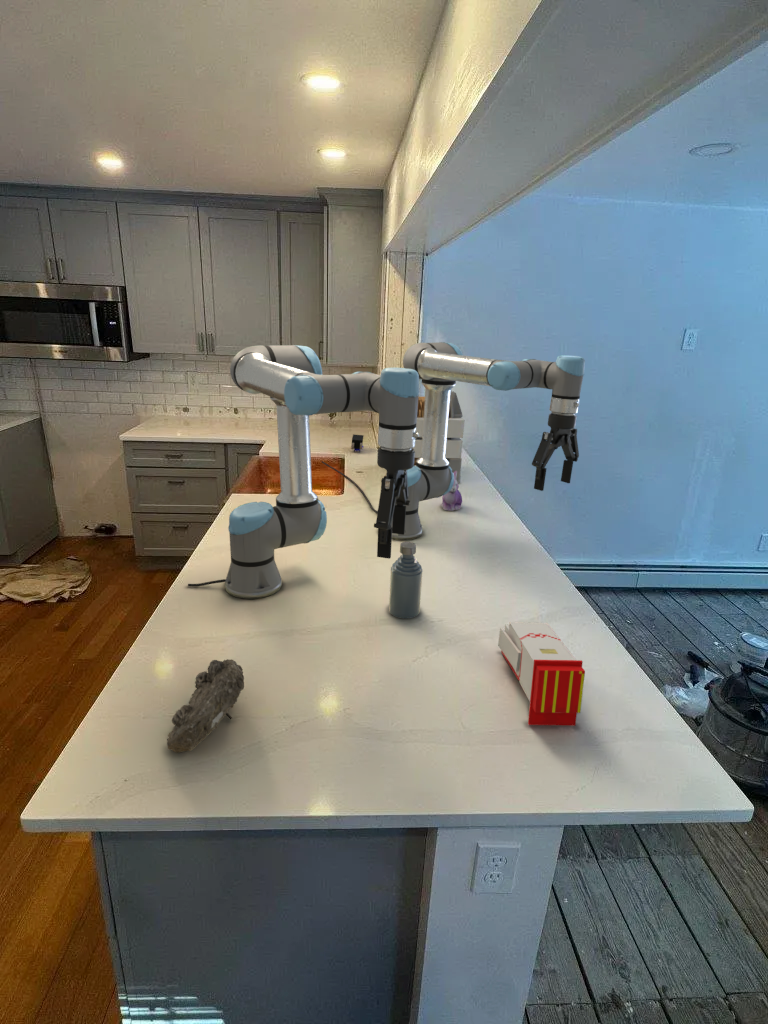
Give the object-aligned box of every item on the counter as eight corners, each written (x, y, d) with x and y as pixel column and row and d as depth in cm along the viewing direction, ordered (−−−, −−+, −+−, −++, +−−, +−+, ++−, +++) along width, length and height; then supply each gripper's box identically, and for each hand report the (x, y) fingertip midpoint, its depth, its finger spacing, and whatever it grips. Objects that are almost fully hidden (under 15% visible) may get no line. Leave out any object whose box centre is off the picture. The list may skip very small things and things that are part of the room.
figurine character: (363, 455, 307) (363, 446, 321) (363, 442, 304) (364, 433, 317) (350, 455, 307) (351, 446, 320) (351, 442, 304) (352, 433, 317)
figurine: (448, 512, 222) (451, 476, 217) (434, 504, 231) (437, 469, 226) (468, 509, 227) (471, 473, 222) (453, 502, 235) (457, 467, 230)
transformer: (382, 463, 289) (386, 382, 275) (445, 464, 293) (451, 384, 279) (390, 482, 257) (394, 392, 243) (460, 483, 261) (468, 394, 247)
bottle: (389, 602, 153) (392, 538, 147) (419, 603, 153) (424, 540, 147) (388, 617, 146) (391, 551, 139) (419, 619, 145) (424, 553, 139)
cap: (400, 548, 146) (400, 540, 145) (415, 549, 145) (416, 541, 145) (399, 554, 142) (400, 547, 141) (415, 555, 142) (416, 548, 141)
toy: (544, 607, 134) (594, 667, 105) (539, 659, 137) (586, 732, 108) (493, 606, 134) (529, 666, 105) (489, 658, 137) (523, 731, 107)
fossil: (192, 660, 117) (244, 628, 112) (224, 691, 120) (276, 661, 115) (142, 746, 98) (202, 712, 93) (182, 779, 101) (242, 748, 96)
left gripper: (401, 464, 102) (395, 571, 109) (425, 436, 125) (419, 526, 132) (361, 460, 103) (358, 565, 111) (392, 433, 126) (387, 522, 133)
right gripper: (548, 419, 148) (537, 496, 155) (598, 411, 163) (586, 482, 171) (525, 414, 153) (515, 489, 160) (575, 407, 169) (564, 476, 176)
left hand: (391, 544), depth 121 cm, fingers open, 13 cm apart
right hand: (552, 485), depth 166 cm, fingers open, 13 cm apart
